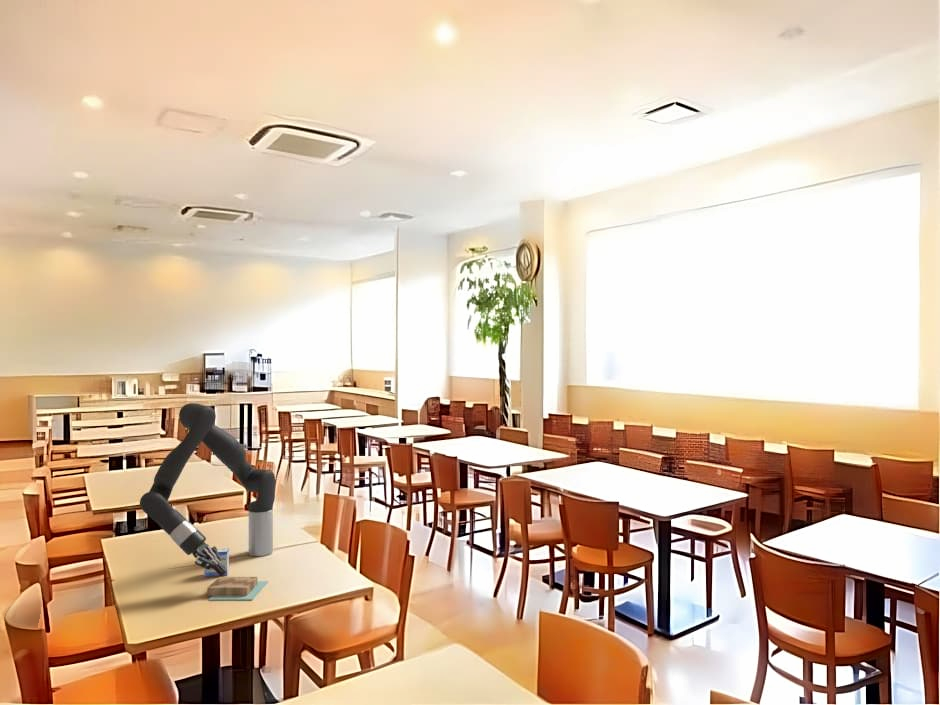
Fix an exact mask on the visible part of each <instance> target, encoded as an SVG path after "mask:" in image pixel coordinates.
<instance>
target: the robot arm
mask: <svg viewBox="0 0 940 705" xmlns="http://www.w3.org/2000/svg"><path fill="white" fill-rule="evenodd" d="M178 413H179V414H178V418H179V422H180V424H181V426H182V427H184V428H185V429H187V434H186V435H185V437H184V438H183V440H182V441H180V442H179V444H178V445H176V447H174V448H173V449H172V450H171V451H170V452H169V453H168V454H167V455H166V456H165V458H164V459H163V460H162V462H161V464H160V466H159V468H158V469H157V472H156V473H155V474H154V475H155V476H154V478H153V484H152V486H151V487H150V490H149V491H148V492H145V493H144V494H143V495H142V496H141V498H140V500H139V507H140V508H141V510H142V511H143V512H144V513H145V514H146V515H147V516H148V517H149V518H151V519H152V520H153V521H154V522H156V523H157V524H158V525H159V527H160V528H161V529H162V530H163V531H164V532H165V533H166V534H167V535H168V536H169V537H170V539H172V541H173V542H174V543H175V544H176V545H177V546H178V547H179V548H180V549H181V550H182V551H183V552H184V553H185V554H186V555H187V556H190V555H193V556H192V557H194V559H196V560H195V561H194V564H195V565H196V566H199V567H201V568H203V569H204V568H206V569H208V570H209V569H214V570H215V571H216V572H217V573H218V574H219V575H220V576H219V577H224V576H223V575H224V574H225V573H226V572H227V570H226V569H225V568H224V567H223V566H222V565H221V564H220V559H221V558H220V555H219V553H218V551H217V549H218V548H217V547H216V546H215V545H213V547H211V546H210V545H209V544H207V543H206V542H205V541H206V540H207V538H206V536H205V535H204V534H203V533H202V532H201V531H200V530H199V529H198V528H197V527H196V526H195V524H194V525H193V524H192V523H191V521H189V520H188V519H187V518H186V517H185V516H184V515H182V513H181V512H179V511H178V510H177V509H175V508H174V507H173V506H172V505H171V504H170V503H169V502H168V501H169V499H170V497H171V494H172V491H173V488H174V486H175V485H176V484H177V481H178V479H179V477H180V476H181V474H182V472H183V470H184V468H185V467H186V465H187V462H188V461H189V460H190V458H191V456H193V453H194V452H196V449H197V448H198V447H199V446H200V444H201V443H203V444H204V445H205V446H206V447H207V448H208V449H209V450H210V451H211V452H212V454H213V455H214V456H215V457H216V458H217V459H218V460H219V461H220V462H221V463H222V464H223V465H225V466H226V468H228V470H230V472H232V473H233V474H234V476H236V478H237V480H238V481H239V482H240V483H241V485H242V486H243V487H244V488H245V489H246V490H247V491H249V492H250V493H257V499H256V500H254V501H251V502H249V504H248V555H249V556H251V557H263V556H265V557H266V556H269V555H271V554H273V552H274V516H273V515H274V509H273V508H274V503H275V498H276V476H275V473H274V472H273V471H272V470H269V469H262V468H261V469H260V468H255V467H254V466H252V464H251V463H249V461H248V460H247V453H246V450H245V447H244V446H243V445H242V444H241V443H240V442H239V441H238V439H236V438H235V437H234V436H233V435H232V434H231V433H229V432H227V431H226V430H224V429H222V428H221V427H219V426H217V425H216V424H215V421H216V419H217V418H216V417H217V416H216V412H215V410H214V408H213V407H212V406H208V405H204V404H202V403H201V404H200V403H195V402H194V403H193V402H190V403H187V404H185V405H183V406H182V407H181V408H180V410H179V412H178ZM268 554H269V555H268ZM209 558H210V559H209ZM207 565H208V566H207Z"/></svg>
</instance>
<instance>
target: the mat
mask: <svg viewBox="0 0 940 705" xmlns="http://www.w3.org/2000/svg"><path fill="white" fill-rule="evenodd" d="M268 583H269V581H268V580H257V585H256V586H255V587H254V589H253V590H252V591H251V592H250V593H249V594H248V595H247V596H210V597H209V599H208V601H210V600H212V601H213V602H214V601H217V600H221V602H222V601H223V602H224V601H225V602H226V600H227V601H253V600H254V599H255V598H256V596H257V595H258V594H259V593H261V591H262V590H263V589H264V588H265V586H266V585H267V584H268ZM262 588H263V589H262ZM210 602H211V601H210Z"/></svg>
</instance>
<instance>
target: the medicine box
mask: <svg viewBox="0 0 940 705" xmlns="http://www.w3.org/2000/svg"><path fill="white" fill-rule="evenodd" d="M217 551H218V553H219V555H220V558H221V559H220V564H221V565H222V566H223V567H224V568H225V569H226V570H227V572H226V573H225V574H224V575H225V576H228V574H229V571H230V567H229V564H230V561H229V560H230V558H229V557H230V553H229V551H230V549H229V548H219V549H218V548H217ZM209 559H210V558H209ZM207 566H208V565H207ZM203 573H204V574H203V576H204V578H213V577H212V576H215V577H221V576H220V575H219V574H218V573H217V572H216V571H215V570H214V569H209V570H208V569H206V568H203Z"/></svg>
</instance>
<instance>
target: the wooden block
mask: <svg viewBox="0 0 940 705" xmlns="http://www.w3.org/2000/svg"><path fill="white" fill-rule="evenodd" d="M257 581H258V576H218V577H217V578H216V579H215V580H214V581H213V582H212V583H211V584H209V586H207V588H206V589H207V590H206V593H207V594H206V596H207V597H212V596H247V595H248V594H249V593H250V592H251V591H252V590H253V589H254V587H255V586H256V585H257Z"/></svg>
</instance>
